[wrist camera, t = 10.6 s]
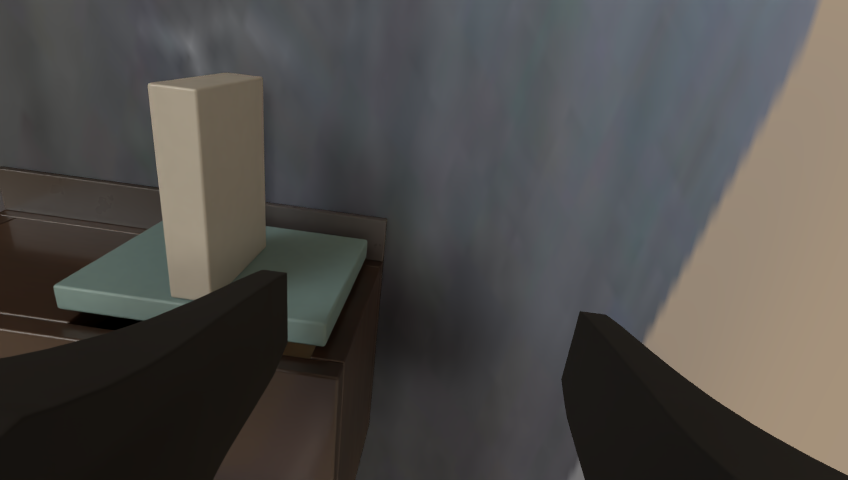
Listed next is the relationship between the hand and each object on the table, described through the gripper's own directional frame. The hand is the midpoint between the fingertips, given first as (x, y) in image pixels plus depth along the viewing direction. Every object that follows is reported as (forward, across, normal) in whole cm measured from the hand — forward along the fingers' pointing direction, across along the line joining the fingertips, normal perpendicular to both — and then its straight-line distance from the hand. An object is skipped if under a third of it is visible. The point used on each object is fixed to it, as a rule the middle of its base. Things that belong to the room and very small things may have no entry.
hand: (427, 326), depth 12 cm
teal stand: (+7, +7, -2) cm, 10 cm away
